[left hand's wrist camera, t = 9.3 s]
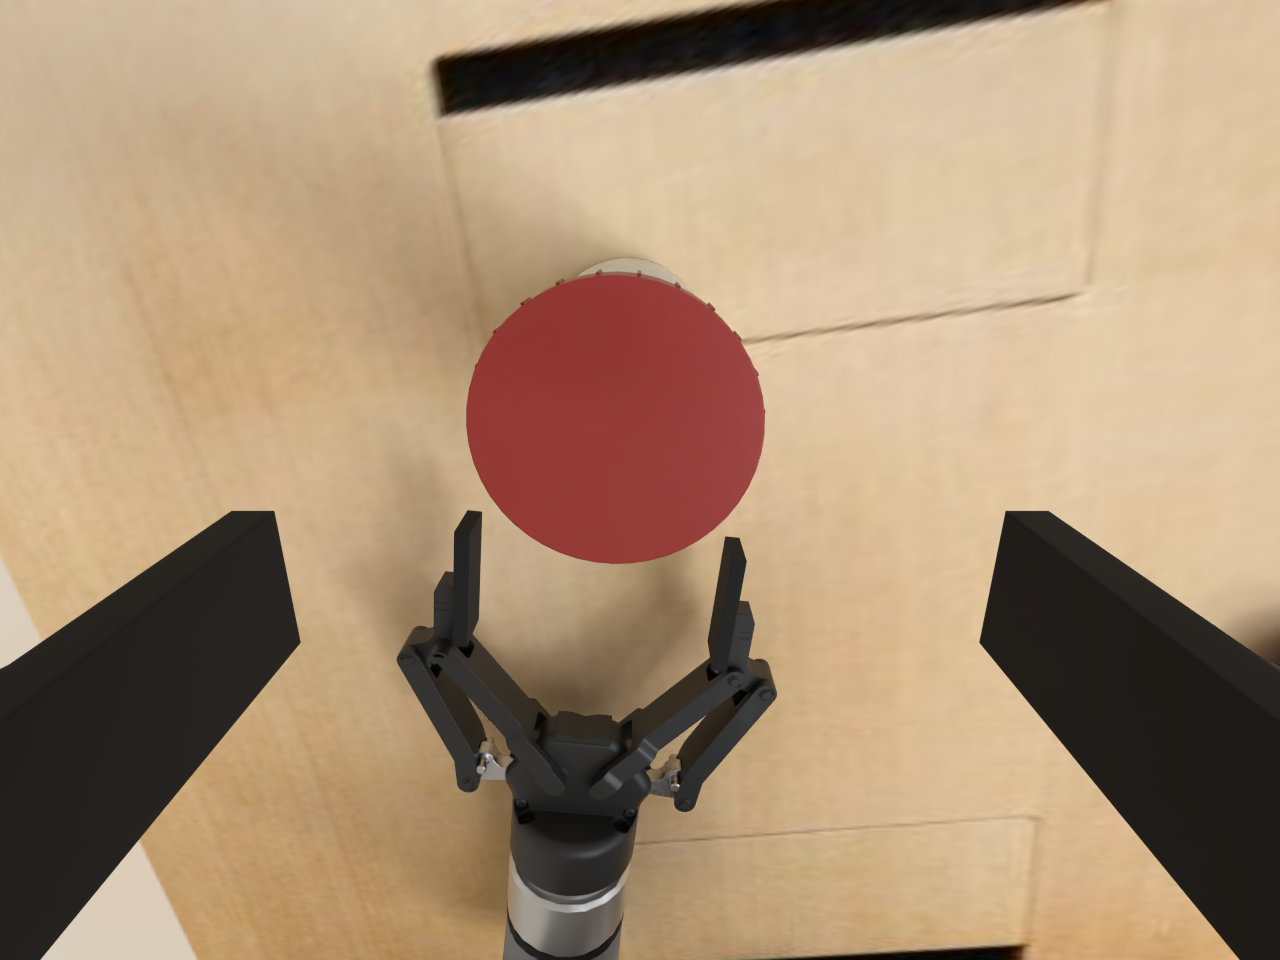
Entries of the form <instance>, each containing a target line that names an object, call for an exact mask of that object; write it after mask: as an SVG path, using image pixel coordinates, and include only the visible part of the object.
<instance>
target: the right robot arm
mask: <svg viewBox="0 0 1280 960" xmlns="http://www.w3.org/2000/svg"><path fill="white" fill-rule="evenodd" d="M481 530H482V512H480V511H470V510H468V511H467V512H466V514H465V515H464V517H463V519H462V520H461V522H460V524H459V525H458V527H457V528H456V530H455V532H454V572H447V571H445V573H444V575H443V576H442V578H441V580H440V582H439V583H438V585H437V587H436V589H435V591H434V627H432V628H427V627H424V626H417V627H415V628H414V629H413V630H412V632H411V633H410V635H409V637H408V639H407V640H406V642H405V644H404V646H403V647H402V649H401V651H400V653H399V654H398V656H397V662H398V665H399V667H400V668H401V670H402V672H403V673H404V675H405V677H406V679H407V680H408V682H409V684H410V685H411V687H412V689H413V691H414V692H415V694H416V696H417V697H418V699H419V701H420V703H421V704H422V706H423V708H424V709H425V711H426V713H427V715H428V716H429V718H430V720H431V721H432V723H433V725H434V727H435V728H436V730H437V732H438V734H439V735H440V737H441V739H442V740H443V742H444V744H445V746H446V747H447V749H448V751H449V752H450V754H451V756H452V758H453V759H454V761H455V769H456V777H457V785H458V787H459V788H460V789H461V790H462V791H464V792H473V791H475V790H476V789H477V788H478V786H479V782H480V780H506V782H507V784H508V786H509V787H510V789H511V791H512V794H513V805H512V822H511V840H510V847H511V851H510V855H509V877H508V900H507V922H506V933H505V943H504V952H503V960H618V953H619V944H620V934H621V925H622V919H623V914H624V909H625V906H626V898H627V890H628V883H629V875H630V868H631V857H632V853H633V847H634V840H635V833H636V826H637V819H638V812H639V806H640V804H641V802H642V801H643V800H644V799H645V798H646V797H647V795H648V794H654V795H660V796H665V797H671V798H674V805H675V807H676V809H677V810H679V811H682V812H687V811H690V810H692V809H693V808H694V806H695V804H696V801H697V798H698V795H699V792H700V789H701V786H702V783H703V782H704V781H705V780H706V779H707V778H708V776H709V775H710V774H711V773H712V772H713V771H714V769H715V768H716V767H717V766H718V765H719V764H720V762H721V761H722V760H723V759H724V758H725V757H726V756H727V754H728V753H729V752H730V751H731V750H732V749H733V747H734V746H735V745H736V744H737V743H738V742H739V741H740V739H741V738H742V737H743V736H744V735H745V734H746V732H747V731H748V730H749V729H750V728H751V727H752V726H753V724H754V723H755V722H756V721H757V720H758V719H759V717H760V716H761V715H762V714H763V713H764V712H765V710H766V709H767V708H768V707H769V706H770V705H771V704H772V702H773V701H774V700H775V698H776V697H777V692H776V688H775V684H774V681H773V678H772V674H771V671H770V667H769V664H768V662H766V661H765V660H763V659H755V660H753V659H751V658H749V657H748V656H749V651H750V646H751V639H752V635H753V630H754V625H755V623H754V620H753V616H752V612H751V608H750V605H749V602H747V601H739V600H740V595H741V589H742V584H743V578H744V573H745V567H746V562H747V561H746V558H745V555H744V551H743V548H742V545H741V542H740V538H735V537H725V541H724V547H723V553H722V559H721V565H720V571H719V577H718V583H717V589H716V595H715V601H714V607H713V613H712V618H711V624H710V630H709V636H708V646H709V652H710V658H709V659H708V660H706V661H705V662H704V663H702V664H701V665H700V666H699V667H697V668H696V669H695V670H693V671H692V672H691V673H690V674H688V675H687V676H686V677H684V678H683V679H682V680H681V681H679V682H678V683H677V684H675V685H674V686H673V687H671V688H670V689H669V690H668V691H666V692H665V693H664V694H662V695H661V696H660V697H659V698H657V699H656V700H655V701H653V702H652V703H651V704H650V705H648V706H647V707H646V708H644V709H641V708H638V709H636V710H635V711H633V712H632V713H631V714H629V715H628V716H627V717H626V718H624V719H623V720H622V721H620V722H619V723H618V722H616V721H613V720H612V716H609V715H591V716H583V715H580V714H576V713H573V712H566V711H559V713H558V715H555V716H552V717H551V716H550V715H549V714H548V712H547V711H546V710H545V709H544V708H543V707H542V706H541V704H540V703H539V702H538V701H537V700H536V699H534V698H532V699H530V698H528V697H527V696H526V694H525V693H524V692H523V691H522V690H521V689H520V688H519V686H518V685H517V684H516V683H515V682H514V681H513V680H512V679H511V677H510V676H509V675H508V674H507V673H506V672H505V671H504V669H503V668H502V667H501V666H500V665H499V664H498V663H497V662H496V660H495V659H494V658H493V657H492V656H491V655H490V654H489V652H488V651H487V650H486V649H485V648H484V647H483V646H482V645H481V643H480V642H479V641H478V640H477V639H476V638H475V637H474V635H473V631H474V629H475V626H476V624H477V622H478V619H479V593H480V561H481ZM467 696H468V697H469V698H470V699H471V700H472V701H473V703H474V704H475V705H476V706H477V707H478V708H479V709H480V710H481V711H482V712H483V713H484V714H485V716H486V717H487V718H488V719H489V720H490V721H491V722H492V723H493V724H494V725H495V726H496V728H497V729H498V730H499V731H500V732H501V733H502V734H503V735H504V736H505V738H506V742H507V746H508V748H509V750H510V751H511V754H510V756H506V755H502V754H501V753H499V751H498V750H497V748H496V746H495V745H494V739H493V738H491V737H486V736H485V731H484V728H483V725H482V723H481V721H480V719H479V717H478V715H477V713H476V711H475V710H474V708H473V706H472V704H471V702H470V701H469V699H468V697H467ZM705 715H706V716H705ZM704 716H705V718H704V719H703V720H702V721H701V722H700V724H699V725H698V726H697V727H696V728H695V730H694V731H693V732H692V733H691V734H690V736H689V737H688V738H687V739H686V741H685V742H684V743H683V745H682V747H681V749H680V751H679V753H678V756H677V755H676V754H672V755H670V756H669V760H668V761H667V762H666V763H665V764H664V766H663V767H661V768H659V769H651V767H650V763H651V762H652V761H653V760H654V758H655V756H656V754H657V752H658V751H659V750H660V749H661V748H663V747H664V746H665V745H667V744H668V743H669V742H671V741H672V740H673V739H675V738H676V737H677V736H679V735H680V734H681V733H683V732H684V731H685V730H687V729H688V728H689V727H691V726H692V725H693V724H695V723H696V722H697V721H699V720H700V719H701V718H703V717H704Z"/></svg>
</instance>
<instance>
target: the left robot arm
mask: <svg viewBox="0 0 1280 960" xmlns="http://www.w3.org/2000/svg"><path fill="white" fill-rule="evenodd" d="M300 643H301V642H300V637H299V632H298V627H297V622H296V617H295V612H294V607H293V602H292V597H291V592H290V587H289V582H288V577H287V572H286V567H285V562H284V557H283V552H282V547H281V542H280V537H279V532H278V527H277V522H276V517H275V512H274V511H231V512H229V513H228V514H226V515H225V516H224V517H222V518H221V519H219V520H218V521H216V522H215V523H213V524H212V525H211V526H209V527H208V528H206V529H205V530H203V531H202V532H200V533H199V534H198V535H196V536H195V537H193V538H192V539H190V540H189V541H187V542H186V543H184V544H183V545H182V546H180V547H179V548H177V549H176V550H174V551H173V552H171V553H170V554H169V555H167V556H166V557H164V558H163V559H161V560H160V561H158V562H157V563H156V564H154V565H153V566H151V567H150V568H148V569H147V570H145V571H144V572H142V573H141V574H140V575H138V576H137V577H135V578H134V579H132V580H131V581H129V582H128V583H127V584H125V585H124V586H122V587H121V588H119V589H118V590H116V591H115V592H113V593H112V594H111V595H109V596H108V597H106V598H105V599H103V600H102V601H100V602H99V603H98V604H96V605H95V606H93V607H92V608H90V609H89V610H87V611H86V612H85V613H83V614H82V615H80V616H79V617H77V618H76V619H74V620H73V621H71V622H70V623H69V624H67V625H66V626H64V627H63V628H61V629H60V630H58V631H57V632H56V633H54V634H53V635H51V636H50V637H48V638H47V639H45V640H44V641H43V642H41V643H40V644H38V645H37V646H35V647H34V648H32V649H31V650H29V651H28V652H27V653H25V654H24V655H22V656H21V657H19V658H18V659H16V660H15V661H14V662H12V663H11V664H9V665H7V666H5V667H3V668H1V669H0V960H40V959H41V958H42V957H43V956H44V955H45V953H46V952H47V951H48V950H49V949H50V947H51V946H52V945H53V944H54V942H55V941H56V940H57V939H58V938H59V936H60V935H61V934H62V933H63V931H64V930H65V929H66V928H67V927H68V925H69V924H70V923H71V922H72V921H73V919H74V918H75V917H76V916H77V914H78V913H79V912H80V911H81V909H82V908H83V907H84V906H85V905H86V903H87V902H88V901H89V900H90V899H91V897H92V896H93V895H94V894H95V892H96V891H97V890H98V889H99V888H100V886H101V885H102V884H103V883H104V882H105V880H106V879H107V878H108V877H109V875H110V874H111V873H112V872H113V871H114V869H115V868H116V867H117V866H118V864H119V863H120V862H121V861H122V860H123V858H124V857H125V856H126V855H127V853H128V852H129V851H130V850H131V849H132V847H133V846H134V845H135V844H136V842H137V841H138V840H139V839H140V838H141V836H142V835H143V834H144V833H145V832H146V830H147V829H148V828H149V827H150V825H151V824H152V823H153V822H154V821H155V819H156V818H157V817H158V816H159V815H160V813H161V812H162V811H163V810H164V808H165V807H166V806H167V805H168V804H169V802H170V801H171V800H172V799H173V797H174V796H175V795H176V794H177V793H178V791H179V790H180V789H181V788H182V786H183V785H184V784H185V783H186V782H187V780H188V779H189V778H190V777H191V776H192V774H193V773H194V772H195V771H196V769H197V768H198V767H199V766H200V765H201V763H202V762H203V761H204V760H205V758H206V757H207V756H208V755H209V754H210V752H211V751H212V750H213V749H214V747H215V746H216V745H217V744H218V743H219V741H220V740H221V739H222V738H223V737H224V735H225V734H226V733H227V732H228V730H229V729H230V728H231V727H232V726H233V724H234V723H235V722H236V721H237V719H238V718H239V717H240V716H241V715H242V713H243V712H244V711H245V710H246V709H247V707H248V706H249V705H250V704H251V702H252V701H253V700H254V699H255V698H256V696H257V695H258V694H259V693H260V691H261V690H262V689H263V688H264V687H265V685H266V684H267V683H268V682H269V680H270V679H271V678H272V677H273V676H274V674H275V673H276V672H277V671H278V670H279V668H280V667H281V666H282V665H283V663H284V662H285V661H286V660H287V659H288V657H289V656H290V655H291V654H292V652H293V651H294V650H295V649H296V648H297V646H298V645H299V644H300ZM979 643H980V644H981V645H982V646H983V648H984V649H985V650H986V651H987V652H988V654H989V655H990V656H991V657H992V659H993V660H994V661H995V662H996V663H997V665H998V666H999V667H1000V668H1001V670H1002V671H1003V672H1004V673H1005V674H1006V676H1007V677H1008V678H1009V679H1010V680H1011V682H1012V683H1013V684H1014V685H1015V687H1016V688H1017V689H1018V690H1019V691H1020V693H1021V694H1022V695H1023V696H1024V698H1025V699H1026V700H1027V701H1028V702H1029V704H1030V705H1031V706H1032V707H1033V709H1034V710H1035V711H1036V712H1037V713H1038V715H1039V716H1040V717H1041V718H1042V719H1043V721H1044V722H1045V723H1046V724H1047V726H1048V727H1049V728H1050V729H1051V730H1052V732H1053V733H1054V734H1055V735H1056V737H1057V738H1058V739H1059V740H1060V741H1061V743H1062V744H1063V745H1064V746H1065V748H1066V749H1067V750H1068V751H1069V752H1070V754H1071V755H1072V756H1073V757H1074V758H1075V760H1076V761H1077V762H1078V763H1079V765H1080V766H1081V767H1082V768H1083V769H1084V771H1085V772H1086V773H1087V774H1088V776H1089V777H1090V778H1091V779H1092V780H1093V782H1094V783H1095V784H1096V785H1097V786H1098V788H1099V789H1100V790H1101V791H1102V793H1103V794H1104V795H1105V796H1106V797H1107V799H1108V800H1109V801H1110V802H1111V804H1112V805H1113V806H1114V807H1115V808H1116V810H1117V811H1118V812H1119V813H1120V815H1121V816H1122V817H1123V818H1124V819H1125V821H1126V822H1127V823H1128V824H1129V825H1130V827H1131V828H1132V829H1133V830H1134V832H1135V833H1136V834H1137V835H1138V836H1139V838H1140V839H1141V840H1142V841H1143V843H1144V844H1145V845H1146V846H1147V847H1148V849H1149V850H1150V851H1151V852H1152V854H1153V855H1154V856H1155V857H1156V858H1157V860H1158V861H1159V862H1160V863H1161V864H1162V866H1163V867H1164V868H1165V869H1166V871H1167V872H1168V873H1169V874H1170V875H1171V877H1172V878H1173V879H1174V880H1175V882H1176V883H1177V884H1178V885H1179V886H1180V888H1181V889H1182V890H1183V891H1184V892H1185V894H1186V895H1187V896H1188V897H1189V899H1190V900H1191V901H1192V902H1193V903H1194V905H1195V906H1196V907H1197V908H1198V910H1199V911H1200V912H1201V913H1202V914H1203V916H1204V917H1205V918H1206V919H1207V921H1208V922H1209V923H1210V924H1211V925H1212V927H1213V928H1214V929H1215V930H1216V931H1217V933H1218V934H1219V935H1220V936H1221V938H1222V939H1223V940H1224V941H1225V942H1226V944H1227V945H1228V946H1229V947H1230V949H1231V950H1232V951H1233V952H1234V953H1235V955H1236V956H1237V957H1238V958H1239V960H1280V666H1279V665H1277V664H1275V663H1273V662H1271V661H1269V660H1266V659H1264V658H1262V657H1260V656H1258V655H1256V654H1255V653H1253V652H1252V651H1251V650H1249V649H1248V648H1246V647H1245V646H1243V645H1242V644H1240V643H1239V642H1237V641H1236V640H1235V639H1233V638H1232V637H1230V636H1229V635H1227V634H1226V633H1224V632H1223V631H1222V630H1220V629H1219V628H1217V627H1216V626H1214V625H1213V624H1211V623H1210V622H1209V621H1207V620H1206V619H1204V618H1203V617H1201V616H1200V615H1198V614H1197V613H1195V612H1194V611H1193V610H1191V609H1190V608H1188V607H1187V606H1185V605H1184V604H1182V603H1181V602H1180V601H1178V600H1177V599H1175V598H1174V597H1172V596H1171V595H1169V594H1168V593H1167V592H1165V591H1164V590H1162V589H1161V588H1159V587H1158V586H1156V585H1155V584H1153V583H1152V582H1151V581H1149V580H1148V579H1146V578H1145V577H1143V576H1142V575H1140V574H1139V573H1138V572H1136V571H1135V570H1133V569H1132V568H1130V567H1129V566H1127V565H1126V564H1124V563H1123V562H1122V561H1120V560H1119V559H1117V558H1116V557H1114V556H1113V555H1111V554H1110V553H1109V552H1107V551H1106V550H1104V549H1103V548H1101V547H1100V546H1098V545H1097V544H1096V543H1094V542H1093V541H1091V540H1090V539H1088V538H1087V537H1085V536H1084V535H1082V534H1081V533H1080V532H1078V531H1077V530H1075V529H1074V528H1072V527H1071V526H1069V525H1068V524H1067V523H1065V522H1064V521H1062V520H1061V519H1059V518H1058V517H1056V516H1055V515H1054V514H1052V513H1051V512H1049V511H1006V512H1005V517H1004V522H1003V527H1002V532H1001V537H1000V542H999V547H998V552H997V557H996V562H995V567H994V572H993V577H992V582H991V587H990V592H989V597H988V602H987V607H986V612H985V617H984V622H983V627H982V632H981V637H980V642H979Z"/></svg>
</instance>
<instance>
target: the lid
mask: <svg viewBox="0 0 1280 960" xmlns="http://www.w3.org/2000/svg"><path fill="white" fill-rule="evenodd" d="M520 304H521V305H522V306H521V307H520V308H519V309H518V310H516V311H515V312H514V313H513V314H512V315H511V316H510V317H509V318H508V319H506V320H505V322H504V323H503V324H502V325H501V326H500V327H498V328H497V329H496V330H494V332H493V333H494V335H493V336H492V338H491V339H490V341H489V342H488V344H487V346H486V347H485V349H484V350H483V352H482V354H481V356H480V359H479V361H478V363H477V364H476V365H475V370H474V373H473V377H472V380H471V384H470V387H469V393H468V400H467V407H466V427H467V435H468V442H469V447H470V451H471V455H472V459H473V462H474V465H475V467H476V470H477V472H478V474H479V477H480V479H481V481H482V483H483V485H484V486H485V488H486V490H487V492H488V493H489V495H490V497H491V498H492V499H493V501H494V502H495V503H496V505H497V506H498V507H499V509H500V510H501V511H502V512H503V513H504V514H505V515H506V516H507V517H508V518H509V519H510V520H511V521H512V522H513V523H514V524H515V525H516V526H517V527H518V528H520V529H521V530H522V531H523V532H525V533H526V534H527V535H528V536H530V537H532V538H533V539H535V540H536V541H538V542H540V543H541V544H543V545H545V546H547V547H549V548H551V549H553V550H555V551H557V552H560V553H562V554H565V555H568V556H571V557H574V558H577V559H582V560H587V561H592V562H599V563H611V564H620V563H636V562H642V561H649V560H653V559H656V558H660V557H664V556H667V555H670V554H672V553H675V552H677V551H679V550H682V549H684V548H686V547H688V546H689V545H691V544H693V543H695V542H697V541H698V540H700V539H701V538H703V537H704V536H705V535H707V534H708V533H710V532H711V531H712V530H714V529H715V528H716V527H717V526H718V525H719V524H720V523H721V522H722V521H723V520H724V519H725V518H726V517H727V516H728V515H729V514H730V513H731V511H732V510H733V509H734V508H735V507H736V505H737V504H738V503H739V501H740V500H741V498H742V497H743V495H744V493H745V492H746V490H747V489H748V487H749V485H750V483H751V480H752V478H753V476H754V474H755V472H756V469H757V465H758V462H759V459H760V456H761V452H762V446H763V440H764V428H765V409H764V404H763V396H762V392H761V388H760V384H759V380H758V377H757V376H759V374H758V372H757V371H756V370H755V368H754V367H753V364H752V362H751V359H750V358H749V356H748V354H747V352H746V351H745V349H744V347H743V345H742V344H741V342H740V341H741V340H742V339H741V338H740V336H739V335H738V334H737V333H736V332H735V331H734V332H732V330H731V329H730V328H729V326H728V325H727V324H726V323H725V322H724V321H723V319H722V318H721V317H720V316H719V315H718V314H717V313H716V312H715V308H714V307H713V306H712V305H711V304H710V303H708V304H706V303H704V302H703V301H702V300H700V299H699V298H698V297H696V296H695V295H694V294H692V293H690V292H688V291H687V290H685V289H683V288H681V286H680V284H679V283H678V282H675V284H673V283H670V282H668V281H665V280H663V279H660V278H657V277H653V276H649V275H645V274H641V271H639V270H638V273H632V272H621V271H617V272H602V269H600V270H598V271H597V272H596V273H593V274H587V275H582V276H578V277H575V278H572V279H569V280H566V281H565V280H564V278H563V279H561V280H559V281H558V282H556V285H555V286H553V287H551V288H549V289H547V290H545V291H543V292H542V293H540V294H539V295H537V296H536V297H534V298H533V299H531V298H530V297H529V298H528V299H526V300H525V301H523V302H522V303H520Z"/></svg>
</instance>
